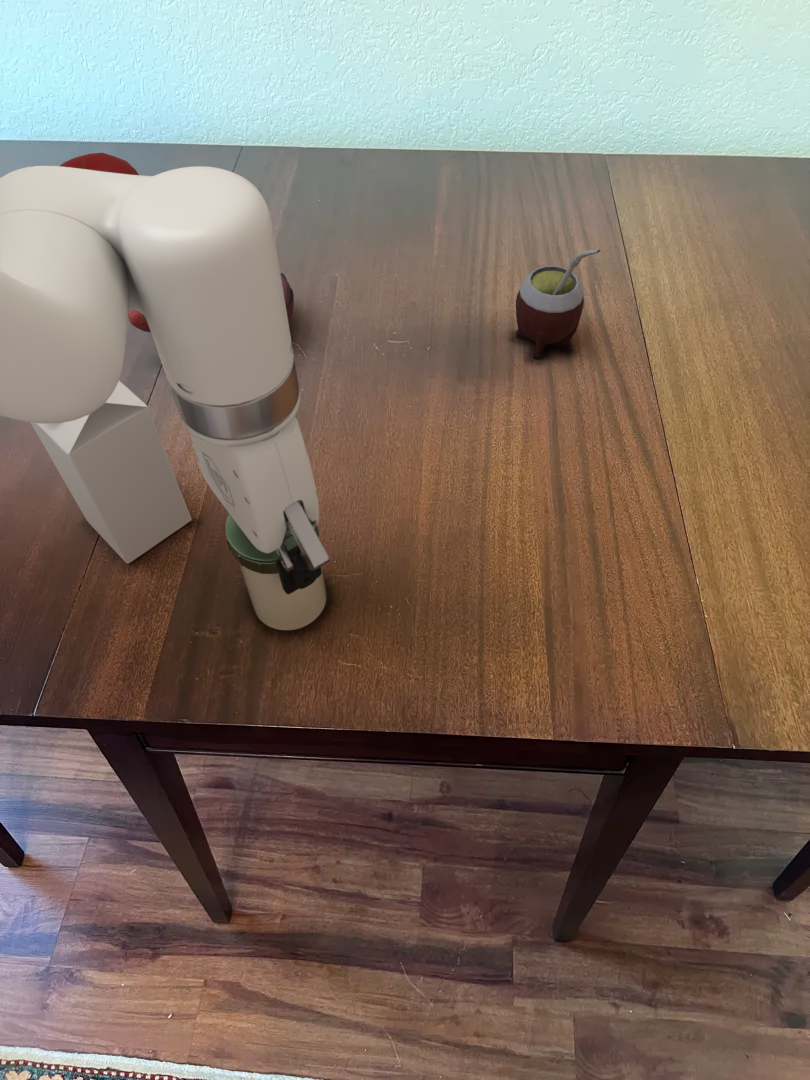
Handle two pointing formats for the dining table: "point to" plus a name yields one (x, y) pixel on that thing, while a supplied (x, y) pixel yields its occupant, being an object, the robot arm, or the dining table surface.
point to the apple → (101, 163)
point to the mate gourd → (550, 306)
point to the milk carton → (118, 473)
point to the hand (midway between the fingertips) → (277, 549)
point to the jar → (284, 600)
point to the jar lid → (253, 549)
